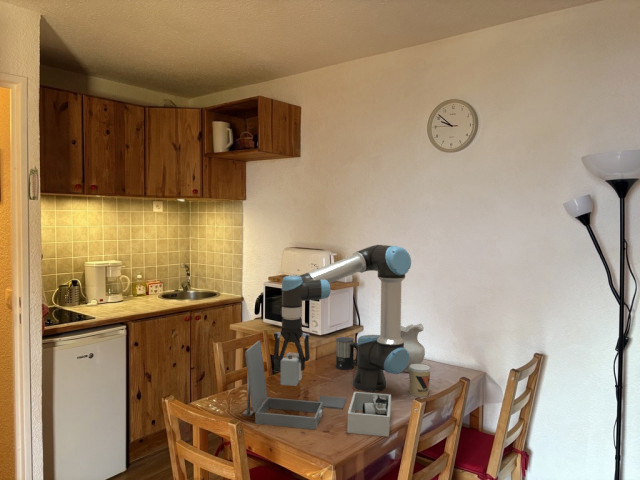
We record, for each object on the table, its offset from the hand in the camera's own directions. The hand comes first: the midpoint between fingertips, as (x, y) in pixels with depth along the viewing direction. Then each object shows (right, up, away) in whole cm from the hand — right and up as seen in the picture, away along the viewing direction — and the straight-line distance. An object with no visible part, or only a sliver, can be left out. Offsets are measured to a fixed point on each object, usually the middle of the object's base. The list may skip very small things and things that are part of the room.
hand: (291, 377), depth 179 cm
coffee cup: (+54, -15, +28) cm, 63 cm away
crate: (+29, -16, -2) cm, 33 cm away
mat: (+15, -15, +16) cm, 27 cm away
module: (0, -1, 0) cm, 1 cm away
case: (-1, -15, 0) cm, 15 cm away
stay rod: (-17, -15, +3) cm, 23 cm away
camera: (+31, -16, -2) cm, 35 cm away
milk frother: (+26, -13, +66) cm, 72 cm away
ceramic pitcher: (+53, -14, +64) cm, 84 cm away
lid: (-13, +1, +2) cm, 13 cm away
